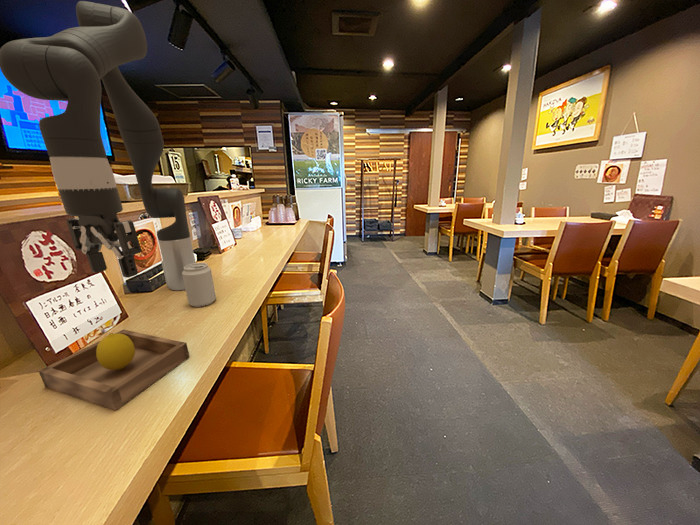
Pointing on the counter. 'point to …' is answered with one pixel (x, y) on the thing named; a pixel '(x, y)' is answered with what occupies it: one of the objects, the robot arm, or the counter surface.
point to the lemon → (115, 351)
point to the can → (199, 284)
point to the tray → (115, 371)
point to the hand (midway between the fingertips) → (115, 273)
